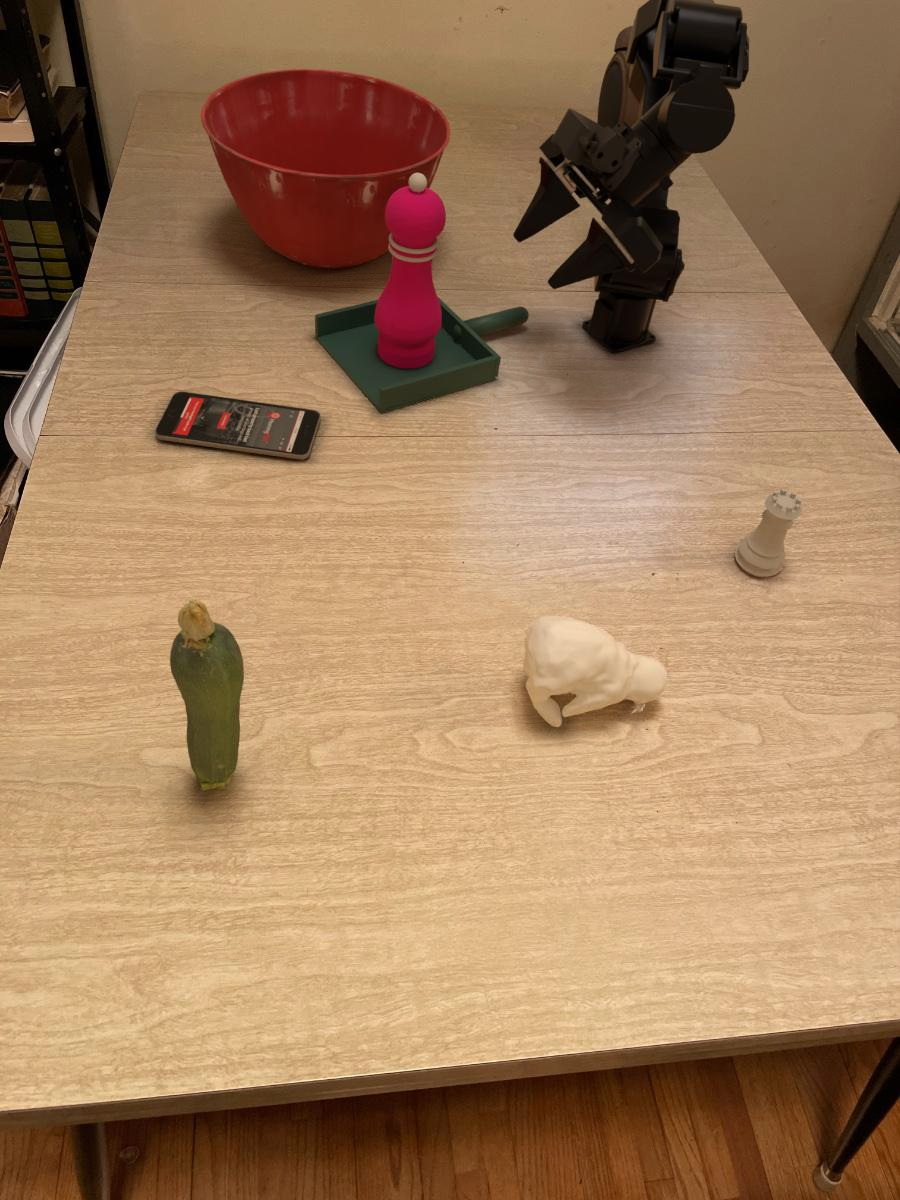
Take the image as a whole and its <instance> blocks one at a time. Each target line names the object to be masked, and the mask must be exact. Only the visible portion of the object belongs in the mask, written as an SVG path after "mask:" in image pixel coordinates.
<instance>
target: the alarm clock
mask: <svg viewBox="0 0 900 1200" xmlns="http://www.w3.org/2000/svg"><path fill="white" fill-rule="evenodd" d="M632 27H633V25H630V26H626V27H625V28H623V29H622V30H621V31H619V32H618V35H617V37H616V39H615V43H614V49H613V52H614V54H613V55H612V56H611V59H610V61H609V63H608V64H607V65H606V68H605V72H604V74H603V78H602V83H601V86H600V91H599V96H598V97H599V98H598V105H597V120H596V123H598V124H599V125H601V126H602V127H604V128H605V127H607V126H608V127H610V128H611V129H613V128H614V127H615V126H616V125H617V124H618V123H623V122H624V121H625V122H626V123H627V124H628V125H629V126H630V127H632V126H633V125H634V124H635V123H636V122H637V121H638V113H639V102H638V101H637V99H636V98H635V96H634V94H633V93H632V91H631V89H630V88H629V85H628V83H629V73H630V64H628V63H626V54H627V48H628V43H629V39H630V34H631V31H632Z"/></svg>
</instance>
